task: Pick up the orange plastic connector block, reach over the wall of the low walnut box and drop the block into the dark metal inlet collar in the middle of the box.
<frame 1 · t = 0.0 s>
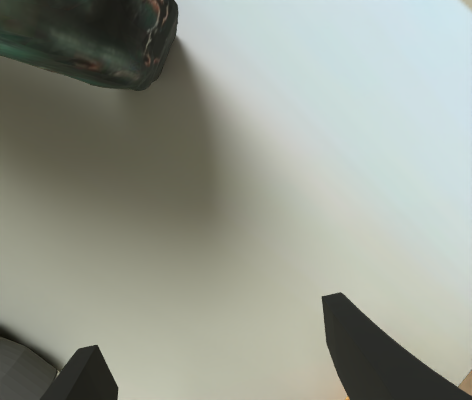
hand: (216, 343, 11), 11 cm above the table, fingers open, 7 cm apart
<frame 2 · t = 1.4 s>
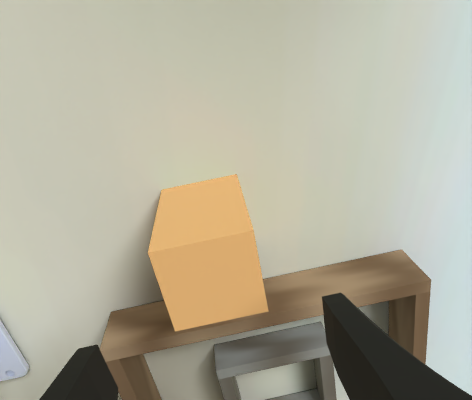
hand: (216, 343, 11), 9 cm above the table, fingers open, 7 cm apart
walled box: (274, 370, 25), on the table
connector: (207, 215, 20), on the table
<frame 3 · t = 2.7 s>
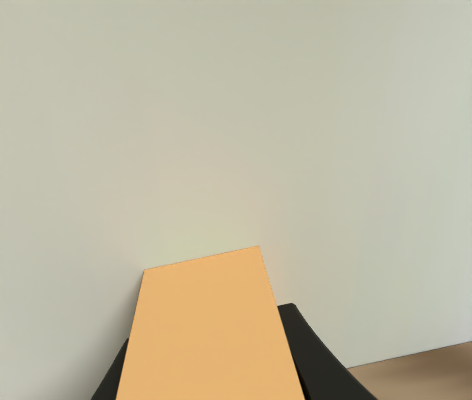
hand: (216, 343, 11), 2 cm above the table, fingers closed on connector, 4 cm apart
connector: (213, 302, 13), on the table, touching gripper
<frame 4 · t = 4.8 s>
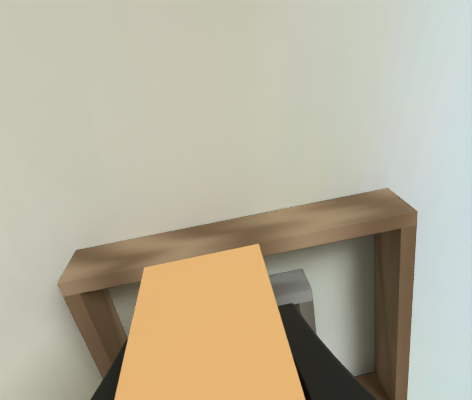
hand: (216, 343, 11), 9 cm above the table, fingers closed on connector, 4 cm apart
walled box: (254, 323, 24), on the table
connector: (213, 300, 13), point 7 cm above the table, touching gripper
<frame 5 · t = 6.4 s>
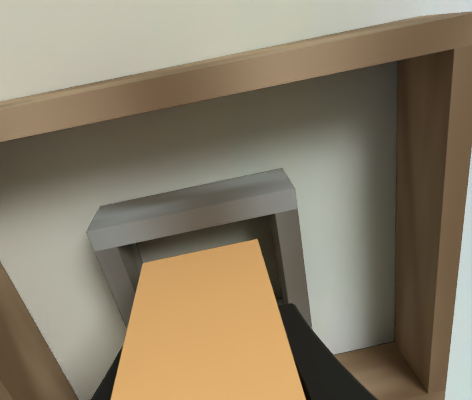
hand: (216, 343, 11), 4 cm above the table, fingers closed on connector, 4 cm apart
walled box: (211, 262, 15), on the table
connector: (212, 296, 13), point 2 cm above the table, touching gripper
when the fingers open (3 cm above the table, at t = 7.3 s): connector drops 1 cm, resting in walled box.
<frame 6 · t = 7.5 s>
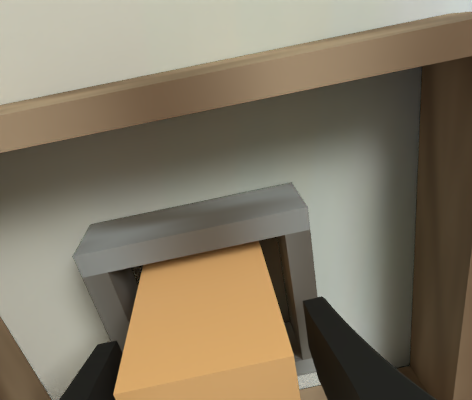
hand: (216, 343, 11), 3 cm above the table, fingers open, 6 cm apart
walled box: (212, 284, 14), on the table
connector: (211, 278, 14), resting in walled box
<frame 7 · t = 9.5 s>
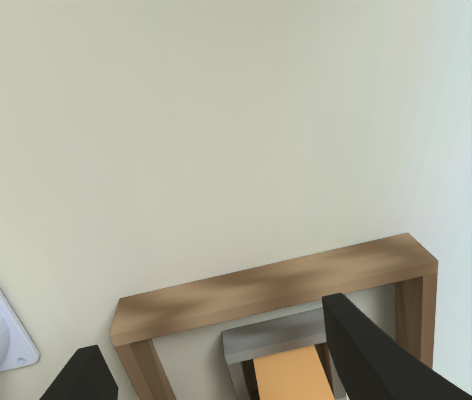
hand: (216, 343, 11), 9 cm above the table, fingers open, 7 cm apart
walled box: (282, 356, 25), on the table
connector: (282, 353, 25), resting in walled box
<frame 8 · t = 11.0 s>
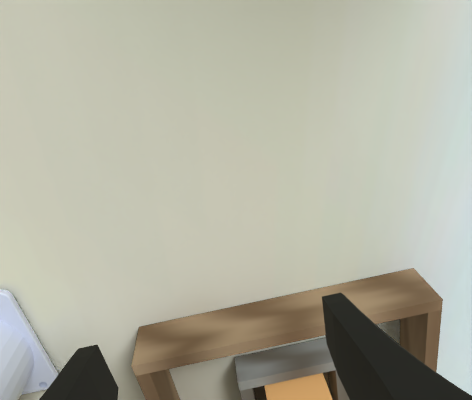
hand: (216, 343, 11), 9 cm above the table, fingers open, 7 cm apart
walled box: (291, 381, 26), on the table
connector: (290, 378, 26), resting in walled box
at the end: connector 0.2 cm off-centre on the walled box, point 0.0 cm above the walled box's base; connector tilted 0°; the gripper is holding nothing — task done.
